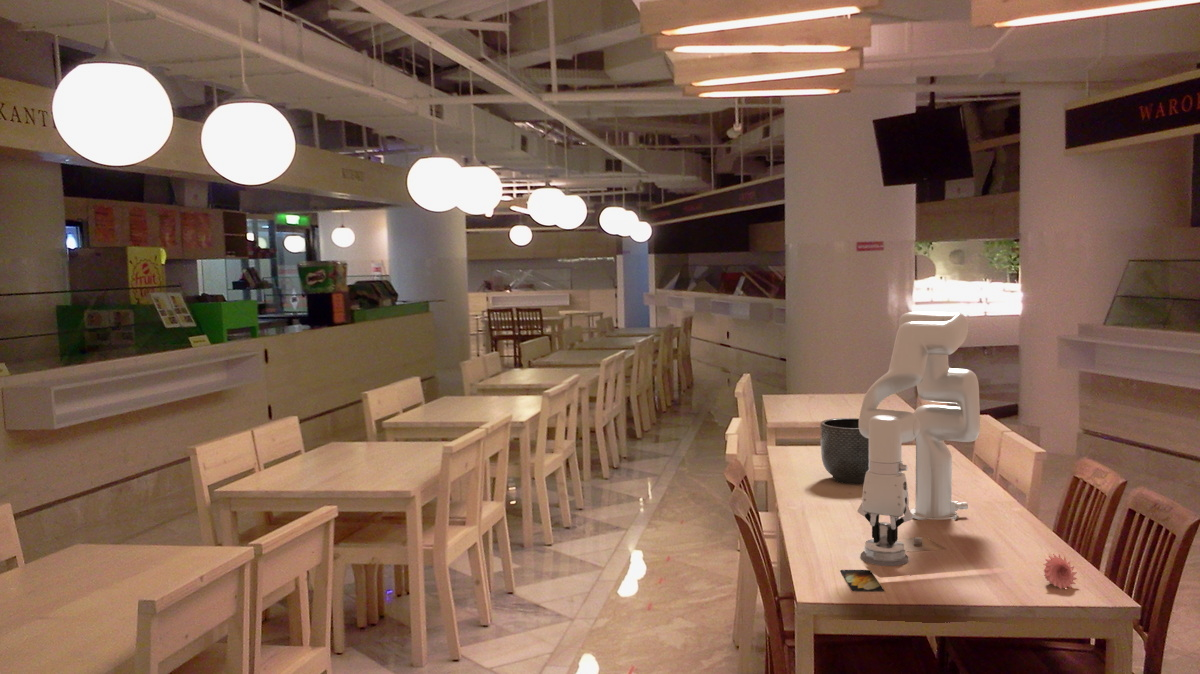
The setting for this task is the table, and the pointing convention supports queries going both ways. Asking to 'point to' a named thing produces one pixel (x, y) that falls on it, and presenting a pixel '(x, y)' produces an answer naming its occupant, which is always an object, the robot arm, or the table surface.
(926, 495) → the robot arm
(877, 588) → the smartphone
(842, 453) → the planter
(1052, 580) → the flower
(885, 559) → the metal knob with peg
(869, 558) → the metal pot lid
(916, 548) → the stand
